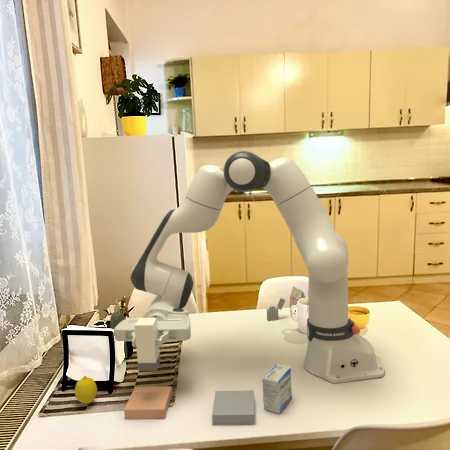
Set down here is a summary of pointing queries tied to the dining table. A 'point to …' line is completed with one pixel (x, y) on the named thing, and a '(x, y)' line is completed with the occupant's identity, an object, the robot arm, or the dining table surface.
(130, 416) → the terracotta stand
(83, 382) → the fruit
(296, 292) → the tea bag
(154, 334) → the banded sleeve
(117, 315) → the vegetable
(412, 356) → the dining table surface
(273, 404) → the medicine box
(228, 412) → the slate stand
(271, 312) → the lighter
